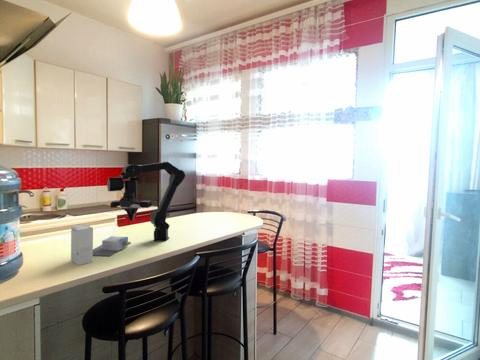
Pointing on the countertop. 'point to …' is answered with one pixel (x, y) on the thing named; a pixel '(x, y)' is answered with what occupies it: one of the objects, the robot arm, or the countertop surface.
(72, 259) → the skincare box
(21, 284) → the countertop surface
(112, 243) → the medicine box
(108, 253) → the mat
